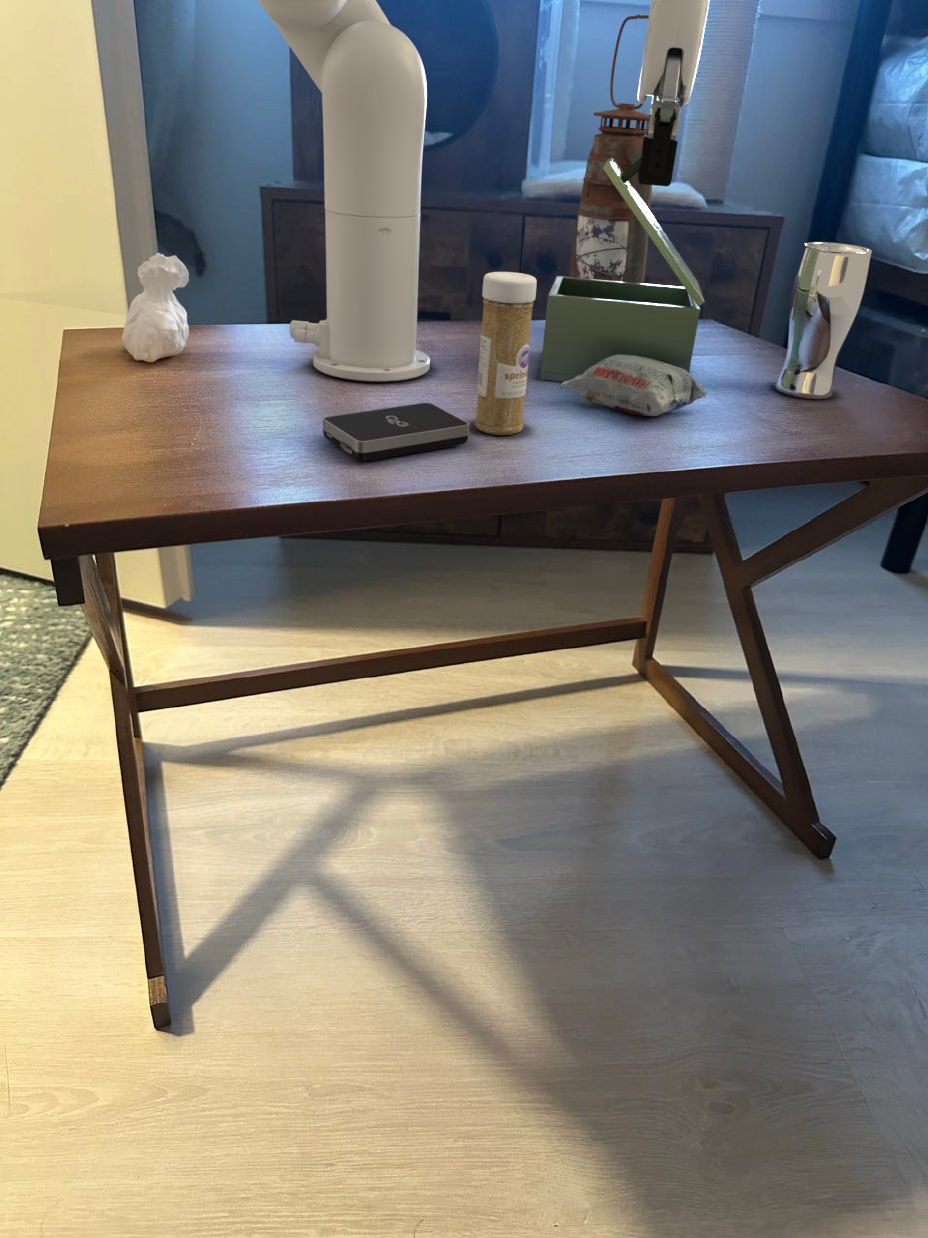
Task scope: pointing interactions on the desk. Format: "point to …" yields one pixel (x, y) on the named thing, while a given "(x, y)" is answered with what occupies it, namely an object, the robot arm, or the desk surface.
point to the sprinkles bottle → (504, 351)
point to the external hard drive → (395, 431)
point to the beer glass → (822, 316)
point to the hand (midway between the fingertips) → (653, 180)
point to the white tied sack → (157, 311)
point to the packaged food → (637, 385)
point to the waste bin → (615, 325)
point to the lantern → (612, 198)
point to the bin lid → (652, 225)
